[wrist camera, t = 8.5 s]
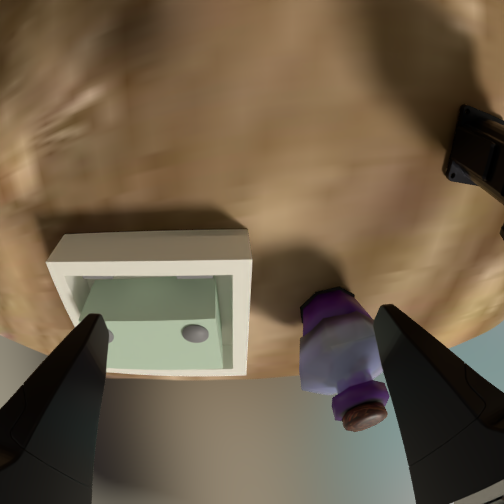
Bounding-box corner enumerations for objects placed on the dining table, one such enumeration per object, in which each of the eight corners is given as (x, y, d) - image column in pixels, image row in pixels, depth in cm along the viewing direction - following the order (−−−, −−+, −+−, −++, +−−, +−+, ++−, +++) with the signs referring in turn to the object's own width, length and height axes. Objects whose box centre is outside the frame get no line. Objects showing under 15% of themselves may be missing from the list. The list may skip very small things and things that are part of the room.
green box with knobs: (215, 274, 23) (215, 320, 19) (221, 326, 26) (223, 369, 23) (95, 279, 22) (77, 322, 18) (116, 328, 26) (106, 369, 22)
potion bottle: (272, 336, 29) (292, 451, 19) (299, 268, 24) (340, 403, 15) (348, 338, 31) (383, 437, 21) (384, 277, 26) (443, 386, 16)
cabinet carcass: (247, 229, 22) (252, 259, 19) (243, 345, 29) (246, 375, 27) (64, 234, 20) (45, 262, 17) (106, 343, 28) (99, 371, 25)
